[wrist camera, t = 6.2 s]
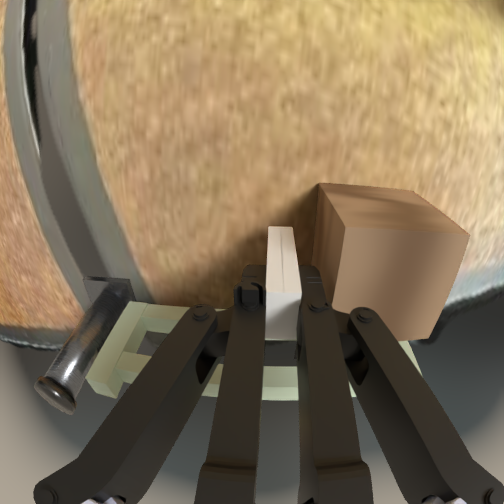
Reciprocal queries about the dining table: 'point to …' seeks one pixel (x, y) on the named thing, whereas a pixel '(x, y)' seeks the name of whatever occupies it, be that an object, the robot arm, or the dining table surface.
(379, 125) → the dining table surface
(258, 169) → the dining table surface
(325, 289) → the walnut block
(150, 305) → the green fence panel
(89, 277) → the hinge post
